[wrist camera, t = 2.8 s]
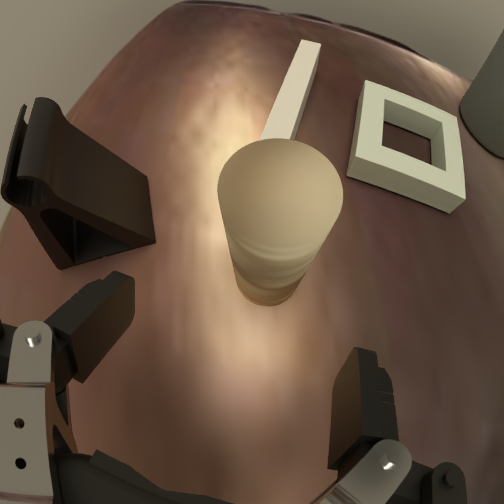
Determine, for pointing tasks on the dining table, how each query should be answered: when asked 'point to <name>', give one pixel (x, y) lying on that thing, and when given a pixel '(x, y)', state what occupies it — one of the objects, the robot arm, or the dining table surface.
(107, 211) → the phone stand
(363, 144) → the pale green square frame
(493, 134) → the water bottle
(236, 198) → the dowel
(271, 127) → the backstop wall
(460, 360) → the dining table surface
